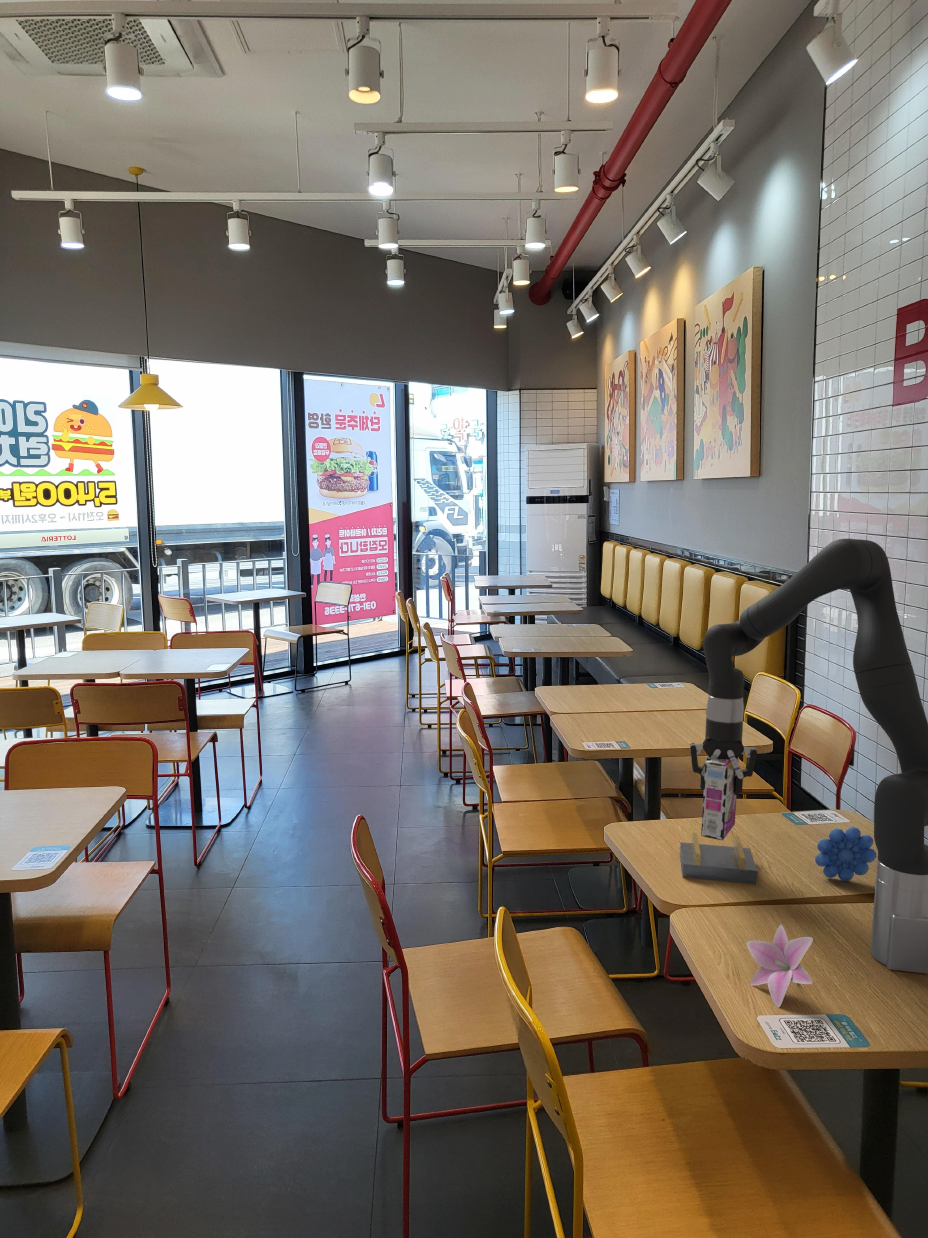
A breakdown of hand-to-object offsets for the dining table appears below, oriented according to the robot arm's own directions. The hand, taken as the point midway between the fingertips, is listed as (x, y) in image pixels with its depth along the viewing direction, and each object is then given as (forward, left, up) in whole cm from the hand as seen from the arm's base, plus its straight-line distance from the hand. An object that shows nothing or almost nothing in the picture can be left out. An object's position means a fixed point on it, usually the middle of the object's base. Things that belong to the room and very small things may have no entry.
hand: (720, 792), depth 177 cm
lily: (-46, -6, -18) cm, 49 cm away
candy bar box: (0, 0, -9) cm, 9 cm away
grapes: (+1, -26, -17) cm, 31 cm away
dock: (0, 0, -17) cm, 17 cm away
